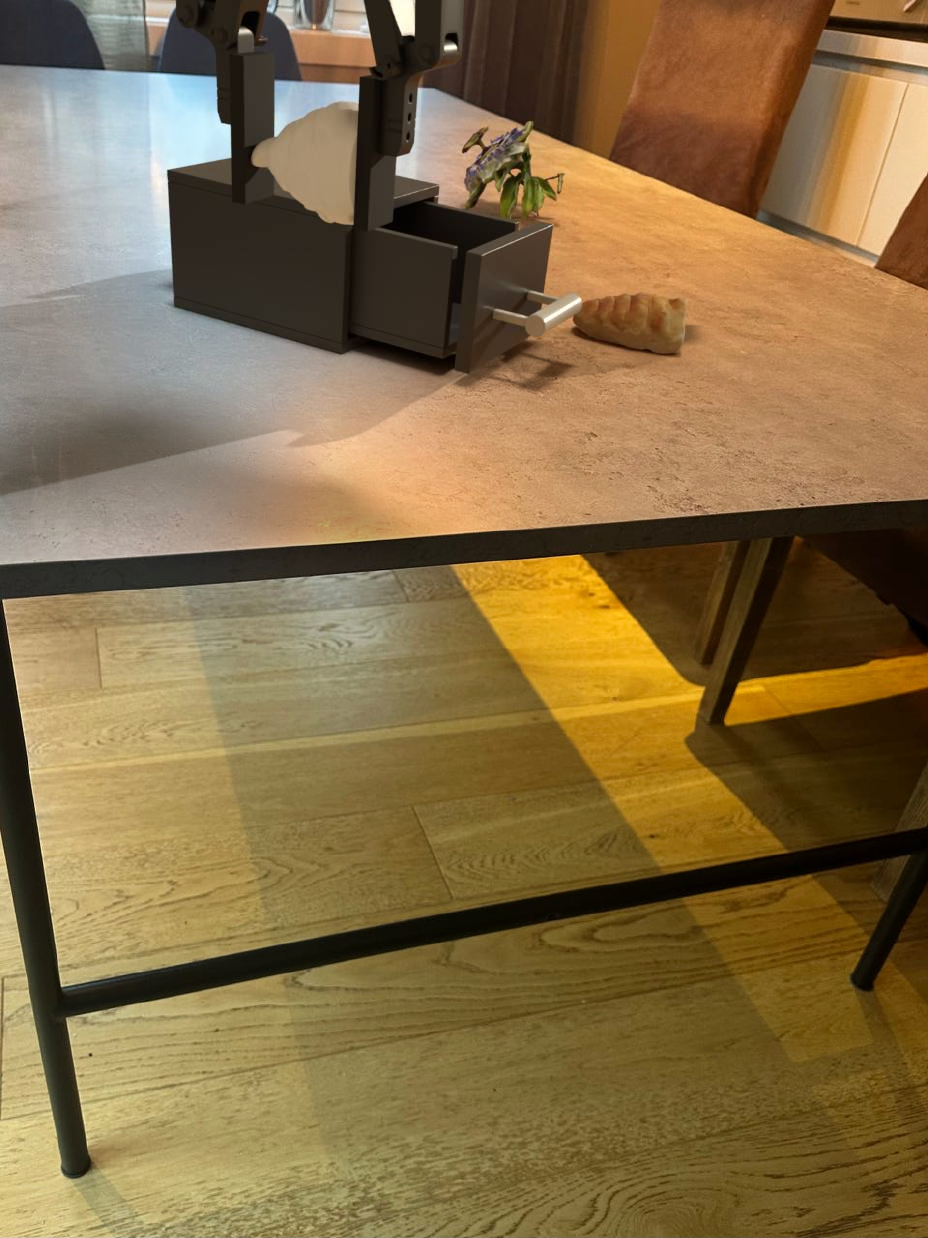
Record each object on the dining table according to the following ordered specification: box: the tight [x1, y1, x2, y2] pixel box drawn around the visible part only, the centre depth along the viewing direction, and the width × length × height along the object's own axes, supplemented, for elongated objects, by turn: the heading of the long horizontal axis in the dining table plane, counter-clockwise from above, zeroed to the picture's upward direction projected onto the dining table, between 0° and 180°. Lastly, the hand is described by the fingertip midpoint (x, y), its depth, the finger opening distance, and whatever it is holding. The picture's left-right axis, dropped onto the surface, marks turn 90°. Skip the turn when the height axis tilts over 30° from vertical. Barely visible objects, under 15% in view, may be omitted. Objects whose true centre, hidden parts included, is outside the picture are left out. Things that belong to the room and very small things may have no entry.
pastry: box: [572, 292, 688, 355], centre depth 86 cm, size 9×7×4 cm
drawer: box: [348, 200, 583, 375], centre depth 78 cm, size 19×12×8 cm, turn 63°
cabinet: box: [166, 157, 441, 354], centre depth 82 cm, size 16×14×10 cm
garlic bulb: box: [251, 100, 359, 225], centre depth 50 cm, size 6×6×5 cm
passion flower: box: [461, 120, 566, 220], centre depth 119 cm, size 11×11×12 cm
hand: (312, 210), depth 52 cm, fingers closed on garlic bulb, 6 cm apart
